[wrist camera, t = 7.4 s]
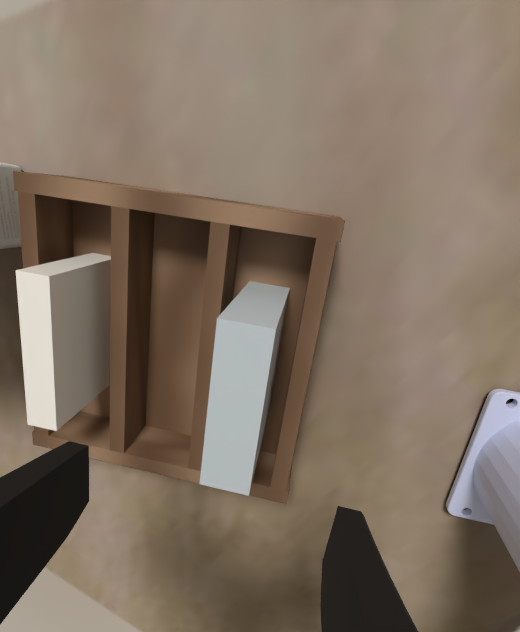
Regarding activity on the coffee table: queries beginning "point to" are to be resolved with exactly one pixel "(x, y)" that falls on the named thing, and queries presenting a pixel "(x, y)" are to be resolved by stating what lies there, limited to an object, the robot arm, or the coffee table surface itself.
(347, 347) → the coffee table surface
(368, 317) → the coffee table surface
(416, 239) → the coffee table surface
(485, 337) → the coffee table surface
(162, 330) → the rack
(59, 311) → the tile
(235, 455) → the pale blue rectangular prism
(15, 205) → the skincare box
